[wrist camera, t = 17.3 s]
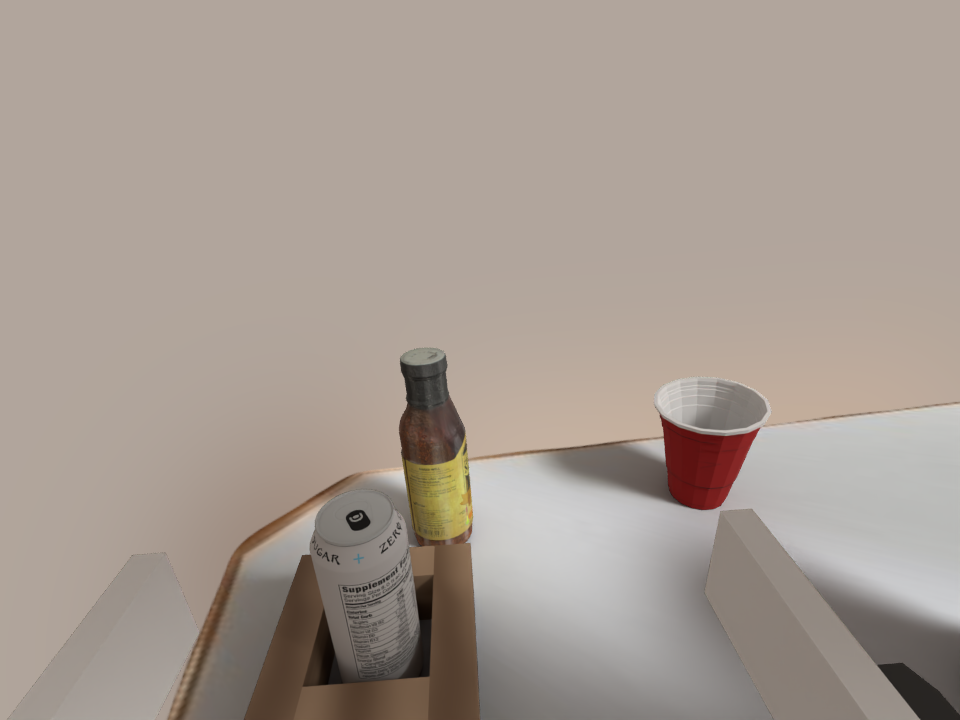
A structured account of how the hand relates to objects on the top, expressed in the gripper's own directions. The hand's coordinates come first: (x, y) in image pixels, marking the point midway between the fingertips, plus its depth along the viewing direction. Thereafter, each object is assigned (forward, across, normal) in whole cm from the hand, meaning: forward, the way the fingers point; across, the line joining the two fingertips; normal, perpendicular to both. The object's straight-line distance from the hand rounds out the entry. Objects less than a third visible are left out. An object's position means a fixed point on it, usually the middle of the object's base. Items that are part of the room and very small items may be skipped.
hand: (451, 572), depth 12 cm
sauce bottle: (+30, -3, -28) cm, 41 cm away
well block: (+15, -7, -27) cm, 32 cm away
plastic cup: (+34, +25, -28) cm, 50 cm away
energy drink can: (+15, -7, -27) cm, 31 cm away
